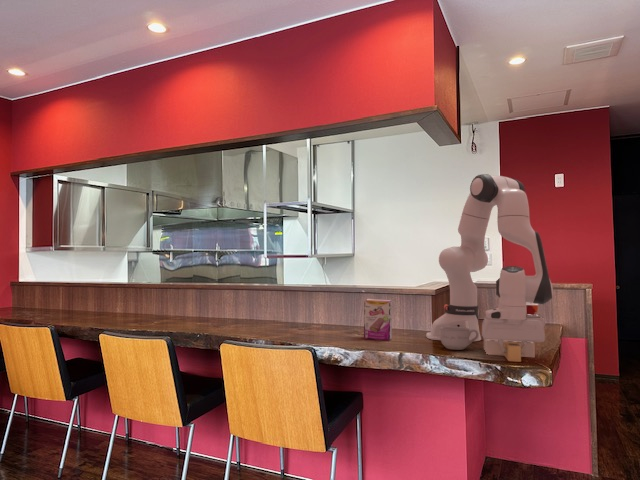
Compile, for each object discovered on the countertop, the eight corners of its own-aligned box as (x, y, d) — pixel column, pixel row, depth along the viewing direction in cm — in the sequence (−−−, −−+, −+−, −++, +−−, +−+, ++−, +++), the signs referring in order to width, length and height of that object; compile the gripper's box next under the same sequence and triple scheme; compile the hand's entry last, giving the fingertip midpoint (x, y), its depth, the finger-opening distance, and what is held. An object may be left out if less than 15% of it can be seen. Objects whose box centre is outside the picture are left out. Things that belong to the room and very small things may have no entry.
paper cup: (540, 333, 204) (540, 302, 204) (522, 332, 205) (522, 302, 205) (535, 330, 211) (535, 300, 212) (518, 329, 213) (518, 300, 213)
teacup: (438, 350, 168) (438, 328, 168) (441, 344, 178) (441, 324, 178) (478, 353, 163) (478, 331, 163) (479, 347, 173) (479, 326, 173)
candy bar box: (363, 339, 187) (363, 299, 188) (366, 337, 192) (366, 298, 193) (390, 341, 184) (390, 301, 184) (392, 338, 189) (392, 299, 189)
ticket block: (486, 354, 162) (486, 340, 162) (483, 349, 170) (483, 335, 171) (534, 357, 158) (534, 342, 158) (529, 351, 167) (529, 337, 167)
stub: (508, 361, 152) (508, 345, 152) (504, 355, 160) (504, 341, 160) (521, 361, 151) (521, 346, 151) (516, 356, 159) (516, 341, 159)
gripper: (542, 313, 156) (542, 353, 156) (480, 310, 161) (480, 349, 161) (547, 316, 150) (547, 357, 150) (482, 313, 155) (482, 353, 155)
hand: (512, 353), depth 156 cm, fingers closed on stub, 4 cm apart
